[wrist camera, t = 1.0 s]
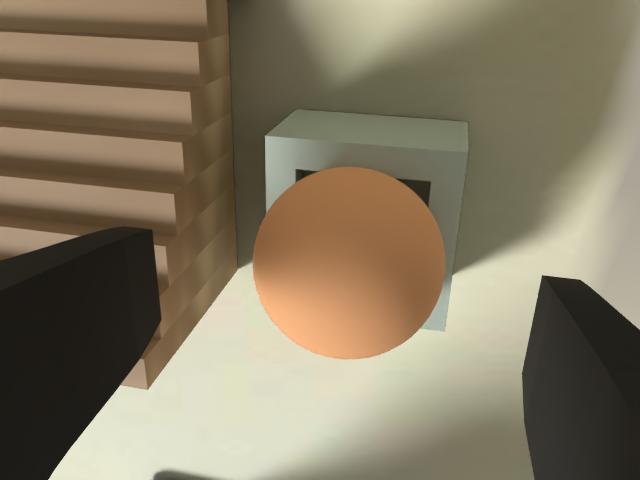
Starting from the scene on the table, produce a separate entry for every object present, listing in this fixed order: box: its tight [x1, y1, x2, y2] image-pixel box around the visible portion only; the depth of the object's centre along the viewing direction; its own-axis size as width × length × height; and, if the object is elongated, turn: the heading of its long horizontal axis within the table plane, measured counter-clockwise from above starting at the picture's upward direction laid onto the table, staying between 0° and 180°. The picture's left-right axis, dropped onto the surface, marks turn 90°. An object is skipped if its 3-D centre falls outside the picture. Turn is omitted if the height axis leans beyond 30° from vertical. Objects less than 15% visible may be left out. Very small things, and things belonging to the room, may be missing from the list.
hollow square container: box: [265, 109, 469, 332], centre depth 15 cm, size 4×4×3 cm
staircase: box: [0, 0, 238, 390], centre depth 15 cm, size 8×6×6 cm
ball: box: [253, 167, 446, 359], centre depth 13 cm, size 4×4×4 cm
